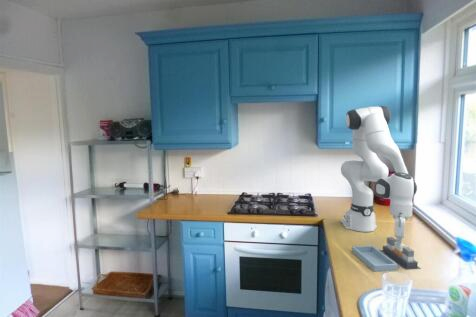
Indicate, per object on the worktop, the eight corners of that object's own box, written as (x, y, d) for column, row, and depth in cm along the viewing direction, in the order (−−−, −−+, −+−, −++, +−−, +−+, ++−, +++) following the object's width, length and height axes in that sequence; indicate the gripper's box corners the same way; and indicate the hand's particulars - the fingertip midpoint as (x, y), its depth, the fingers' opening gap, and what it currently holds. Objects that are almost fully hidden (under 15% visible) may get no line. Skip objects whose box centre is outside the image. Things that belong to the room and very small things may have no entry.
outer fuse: (401, 263, 140) (402, 247, 139) (407, 262, 140) (408, 247, 139) (407, 267, 136) (408, 251, 135) (413, 266, 136) (414, 250, 135)
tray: (351, 253, 152) (352, 246, 152) (372, 252, 153) (372, 245, 153) (374, 273, 132) (374, 265, 132) (397, 272, 133) (397, 264, 133)
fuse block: (379, 252, 153) (379, 245, 153) (393, 251, 154) (393, 244, 154) (405, 272, 134) (405, 263, 133) (421, 271, 134) (421, 263, 134)
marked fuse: (393, 257, 146) (394, 242, 145) (398, 256, 146) (399, 241, 145) (399, 261, 142) (399, 245, 141) (404, 260, 142) (405, 245, 141)
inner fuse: (386, 251, 152) (387, 237, 151) (391, 251, 152) (391, 237, 151) (391, 255, 148) (392, 240, 147) (396, 255, 148) (397, 240, 147)
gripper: (409, 217, 130) (407, 250, 132) (408, 206, 148) (407, 235, 150) (391, 215, 133) (390, 247, 135) (393, 204, 151) (392, 233, 153)
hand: (399, 241), depth 142 cm, fingers open, 8 cm apart
